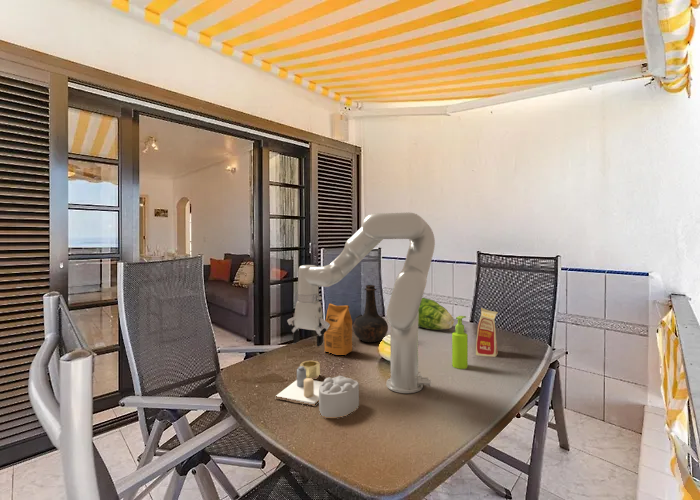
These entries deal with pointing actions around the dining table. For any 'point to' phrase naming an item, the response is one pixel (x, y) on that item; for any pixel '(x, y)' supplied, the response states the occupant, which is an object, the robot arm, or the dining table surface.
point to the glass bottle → (370, 320)
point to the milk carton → (486, 334)
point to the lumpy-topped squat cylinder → (338, 396)
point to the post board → (302, 388)
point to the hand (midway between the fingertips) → (307, 343)
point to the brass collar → (311, 368)
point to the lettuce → (434, 316)
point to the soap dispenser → (459, 346)
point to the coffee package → (338, 330)
